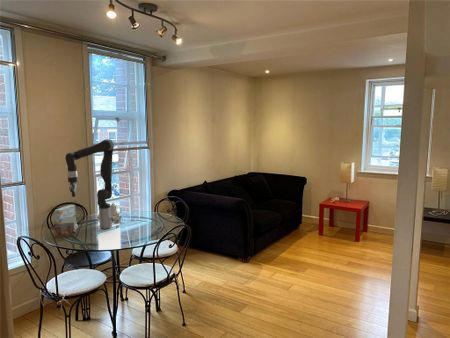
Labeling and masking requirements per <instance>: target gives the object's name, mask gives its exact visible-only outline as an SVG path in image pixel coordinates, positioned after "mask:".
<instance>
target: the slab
mask: <svg viewBox="0 0 450 338" xmlns="http://www.w3.org/2000/svg"><path fill="white" fill-rule="evenodd" d="M76 225H78V224H77V216H76V217H75V218H63V219H62V221H61V223H60V231H67V226H72V230H75V227H76Z"/></svg>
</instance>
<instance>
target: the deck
mask: <svg viewBox="0 0 450 338" xmlns="http://www.w3.org/2000/svg"><path fill="white" fill-rule="evenodd" d="M67 231H68V234H61V233H60V226H55V225H54V232H55V233H54V234H55V237H56V238H57V237H58V238H59V237H60V238H61V237H73V236H74V232H73V231H72V226H67Z"/></svg>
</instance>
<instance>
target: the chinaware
mask: <svg viewBox="0 0 450 338" xmlns="http://www.w3.org/2000/svg"><path fill="white" fill-rule="evenodd" d="M118 208H119V210H120V211H119V212H118V210H117V209H118ZM110 211H111V219H112V222H114V223H117V224H119V223H121V222H122V221H124V219H123V216H122V215H121V213H122V207H120V206H118V205H117V204H116V203H114V202H112V203H110ZM95 217H96V218H97V220H98V221H99V213H98V214H97V215H95Z"/></svg>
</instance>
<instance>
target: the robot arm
mask: <svg viewBox="0 0 450 338" xmlns="http://www.w3.org/2000/svg"><path fill="white" fill-rule="evenodd" d="M114 148H115V144H114V142H113V140H112V139H110V138H109V139H103V140H102V141H100V142H98V143H96V144H93V145H91V146H87V147H84V148H80V149H78V150H76V151H74V152H68V153H66V155H65V162H66V167H67V182H68V183H69V187H68V188H69V191H70V193H71V197H72V198H75V197H76V192H77V188H78V185H77V183H78V182H79V179H78V174H79V173H78V166H77V164H76V162H75V161H77V160H80V159H83V158H86V157H88V156H91V155H93V154H96V153H102V152H103V157H102V160H101V163H100V167H99V168H100V170H99V173H100V177H101V179H102V180H103V182H104V188H102V189H98V190H97V194H96V199H97V205H98V214H99V220H98V221H99V222H98V223H99V228H100V229H101V230H102V229H103V230H104V229H105V230H106V229H111V228H112V226H113V225H112V223H113V221H112V219H111V211H110V205H111V203H108V202H107V201H106V200H110V199H111V198H112V196H113V188H112V184H113V183H112V180H113V179H112V178H113V175H112V174H113V153H114Z"/></svg>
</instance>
